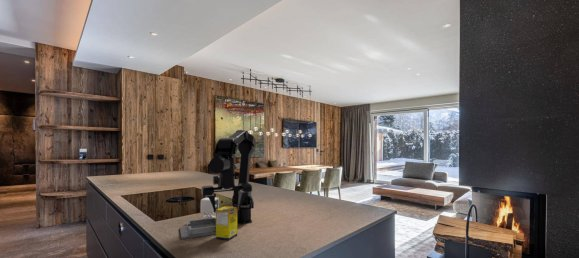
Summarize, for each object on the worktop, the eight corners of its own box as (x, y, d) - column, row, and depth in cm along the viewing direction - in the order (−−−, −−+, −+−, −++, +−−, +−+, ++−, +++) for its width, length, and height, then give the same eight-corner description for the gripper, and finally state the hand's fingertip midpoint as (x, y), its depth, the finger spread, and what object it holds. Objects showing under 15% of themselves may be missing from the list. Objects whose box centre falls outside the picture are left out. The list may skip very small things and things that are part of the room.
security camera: (212, 222, 120) (212, 200, 121) (198, 221, 122) (198, 199, 122) (218, 218, 127) (219, 197, 127) (205, 217, 128) (205, 196, 129)
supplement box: (237, 235, 103) (237, 206, 103) (229, 240, 97) (229, 210, 98) (224, 233, 105) (224, 205, 105) (215, 238, 99) (215, 209, 100)
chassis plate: (222, 222, 119) (222, 216, 119) (229, 232, 106) (229, 225, 106) (179, 228, 112) (180, 221, 112) (181, 239, 99) (181, 231, 99)
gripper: (245, 167, 114) (245, 204, 113) (199, 170, 106) (199, 209, 105) (252, 170, 104) (252, 210, 103) (203, 172, 96) (202, 216, 95)
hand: (227, 211), depth 102 cm, fingers open, 9 cm apart
